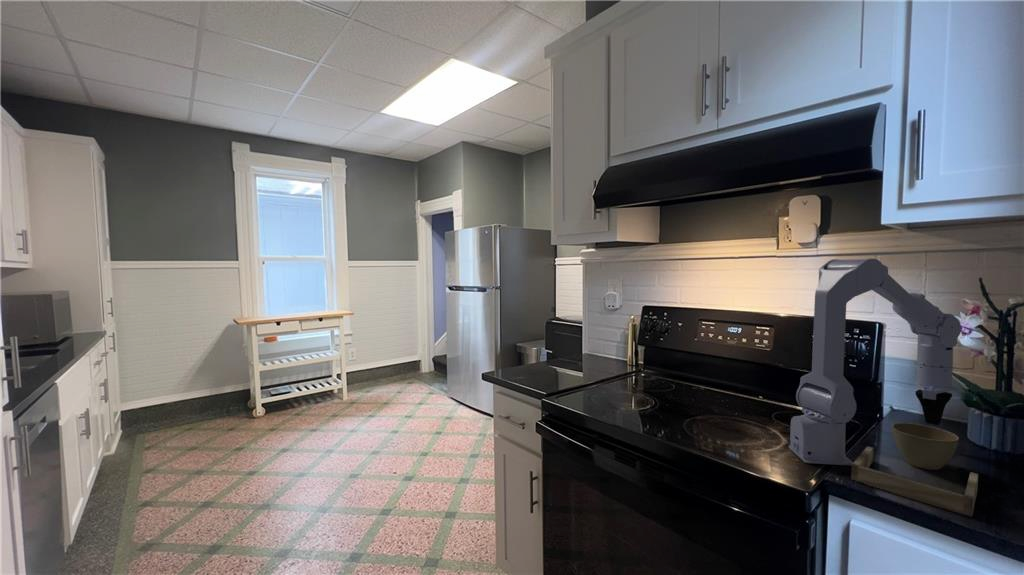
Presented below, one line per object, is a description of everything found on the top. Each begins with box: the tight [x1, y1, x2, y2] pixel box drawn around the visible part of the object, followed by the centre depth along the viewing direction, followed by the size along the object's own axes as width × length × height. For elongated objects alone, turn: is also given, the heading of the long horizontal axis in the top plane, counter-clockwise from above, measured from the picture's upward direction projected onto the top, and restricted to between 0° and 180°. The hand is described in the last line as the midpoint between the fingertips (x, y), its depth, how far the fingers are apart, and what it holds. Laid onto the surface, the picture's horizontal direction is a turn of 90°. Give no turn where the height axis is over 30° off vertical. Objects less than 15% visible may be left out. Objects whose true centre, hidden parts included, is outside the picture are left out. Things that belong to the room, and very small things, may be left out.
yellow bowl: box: [891, 422, 960, 471], centre depth 88 cm, size 10×10×7 cm
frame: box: [850, 446, 979, 518], centre depth 80 cm, size 13×16×3 cm
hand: (932, 423), depth 96 cm, fingers closed
